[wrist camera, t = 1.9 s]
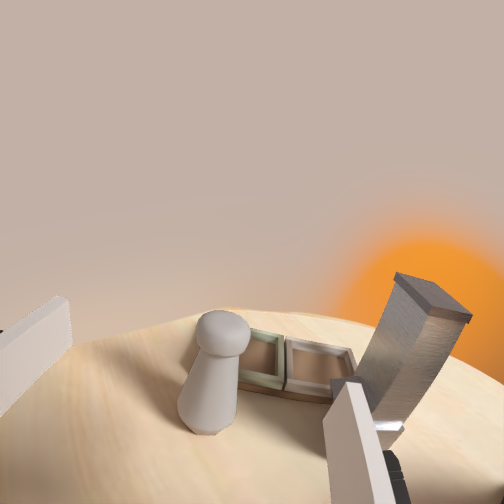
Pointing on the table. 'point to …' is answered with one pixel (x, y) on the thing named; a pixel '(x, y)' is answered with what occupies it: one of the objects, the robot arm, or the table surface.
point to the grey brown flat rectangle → (292, 367)
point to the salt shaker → (214, 373)
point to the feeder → (406, 352)
